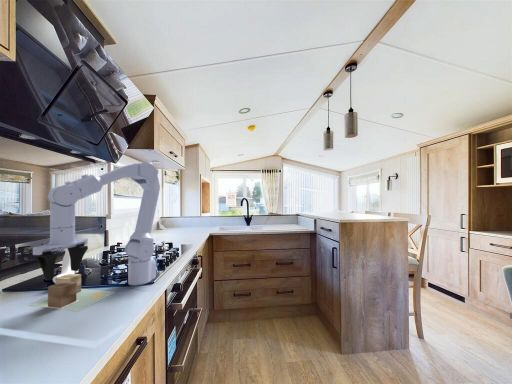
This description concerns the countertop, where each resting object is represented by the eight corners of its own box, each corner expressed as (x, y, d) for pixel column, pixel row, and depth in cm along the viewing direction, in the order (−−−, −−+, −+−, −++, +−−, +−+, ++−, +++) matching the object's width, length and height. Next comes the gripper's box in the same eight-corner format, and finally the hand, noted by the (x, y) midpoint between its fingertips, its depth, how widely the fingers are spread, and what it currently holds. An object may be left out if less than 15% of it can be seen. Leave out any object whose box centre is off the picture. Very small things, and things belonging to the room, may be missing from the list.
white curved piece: (52, 294, 81) (52, 249, 81) (61, 278, 97) (61, 240, 97) (70, 291, 83) (70, 247, 84) (76, 275, 100) (76, 239, 100)
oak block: (69, 290, 82) (69, 273, 82) (81, 291, 81) (81, 274, 81) (55, 295, 77) (55, 278, 77) (67, 296, 76) (67, 279, 76)
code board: (72, 291, 83) (72, 288, 83) (115, 295, 80) (115, 291, 80) (27, 309, 70) (28, 305, 70) (76, 314, 67) (76, 311, 67)
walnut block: (63, 299, 74) (63, 281, 74) (76, 300, 73) (76, 282, 73) (47, 306, 70) (48, 286, 70) (61, 307, 69) (61, 288, 69)
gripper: (74, 224, 80) (74, 266, 79) (23, 230, 65) (23, 282, 65) (93, 224, 78) (93, 267, 78) (44, 231, 64) (44, 283, 64)
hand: (62, 274), depth 71 cm, fingers open, 7 cm apart
